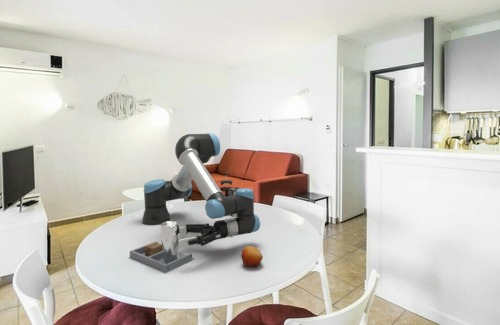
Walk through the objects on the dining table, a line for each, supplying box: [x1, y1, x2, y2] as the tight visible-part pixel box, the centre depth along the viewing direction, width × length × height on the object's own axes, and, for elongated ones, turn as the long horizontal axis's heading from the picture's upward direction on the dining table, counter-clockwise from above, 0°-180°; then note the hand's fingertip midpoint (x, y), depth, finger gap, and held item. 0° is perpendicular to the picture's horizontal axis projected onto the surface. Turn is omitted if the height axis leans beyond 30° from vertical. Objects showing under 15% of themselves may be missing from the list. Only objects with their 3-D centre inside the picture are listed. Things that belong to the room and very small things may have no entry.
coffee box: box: [228, 186, 241, 218], centre depth 176 cm, size 9×6×16 cm
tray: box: [129, 241, 196, 274], centre depth 115 cm, size 23×14×3 cm, turn 54°
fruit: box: [240, 245, 263, 268], centre depth 109 cm, size 8×8×8 cm
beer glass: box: [160, 220, 181, 264], centre depth 111 cm, size 7×7×15 cm
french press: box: [219, 171, 234, 197], centre depth 199 cm, size 12×9×23 cm
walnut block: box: [144, 241, 163, 257], centre depth 118 cm, size 5×5×4 cm
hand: (174, 238), depth 111 cm, fingers open, 13 cm apart
